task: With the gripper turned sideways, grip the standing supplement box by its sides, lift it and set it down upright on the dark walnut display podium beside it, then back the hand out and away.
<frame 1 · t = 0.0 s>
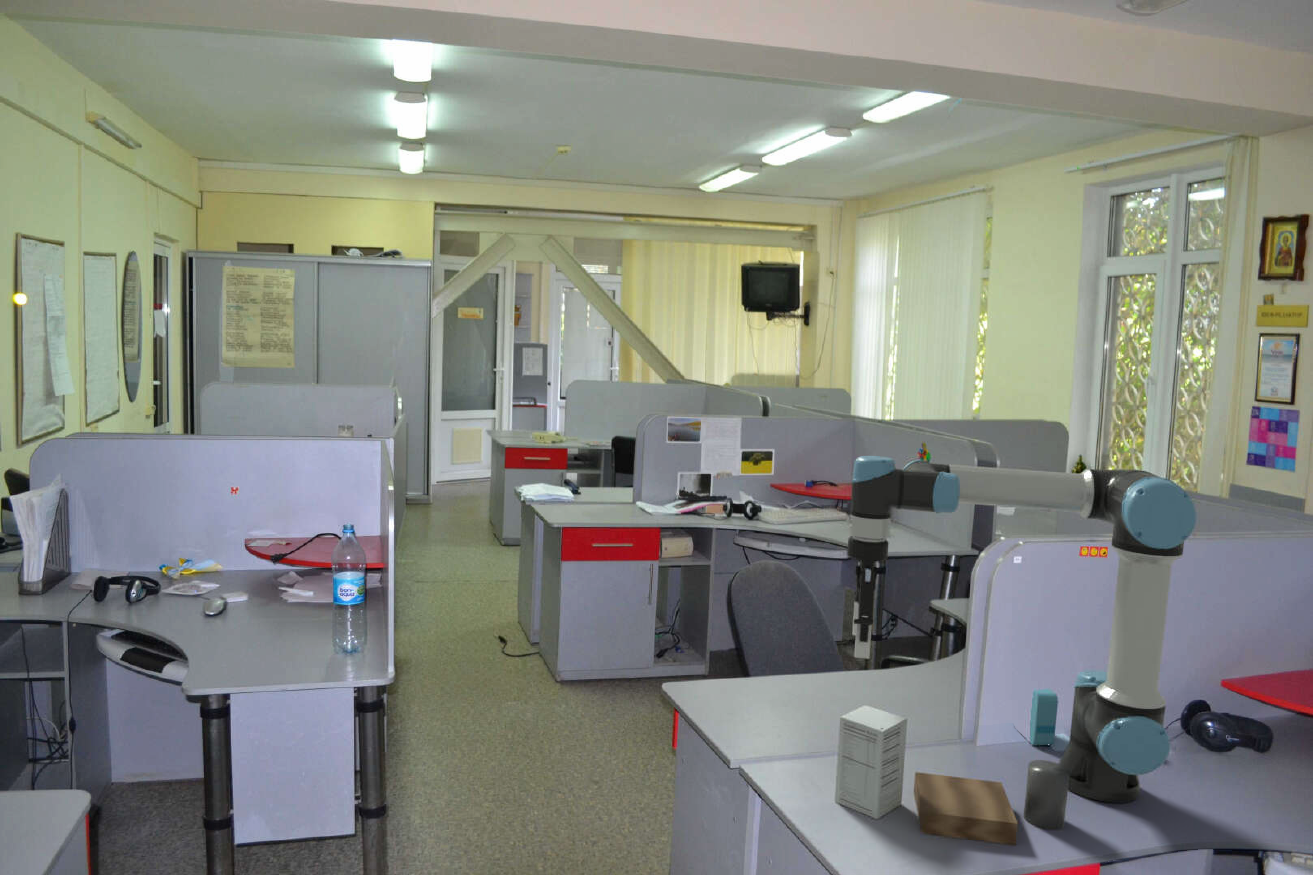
hand: (860, 646, 188), 28 cm above the table, tool pointing down, fingers open, 13 cm apart
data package: (1032, 737, 219), on the table
pale grey branched piece: (1127, 748, 216), on the table
podium: (962, 816, 180), on the table
supplement box: (867, 803, 184), on the table
dark grey cylinder: (1043, 819, 181), on the table
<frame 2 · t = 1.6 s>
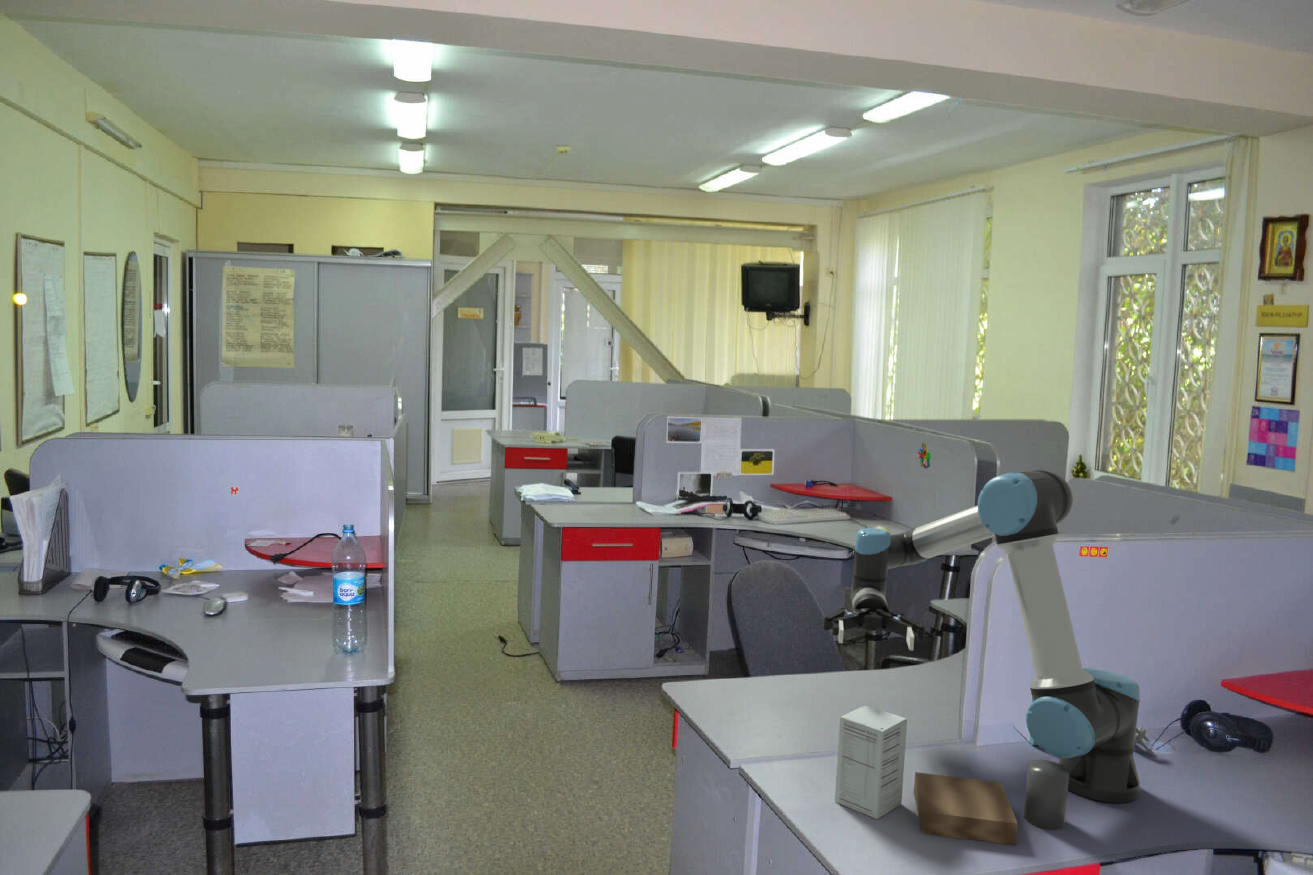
hand: (876, 640, 192), 28 cm above the table, tool horizontal, fingers open, 13 cm apart
nothing on the table moved.
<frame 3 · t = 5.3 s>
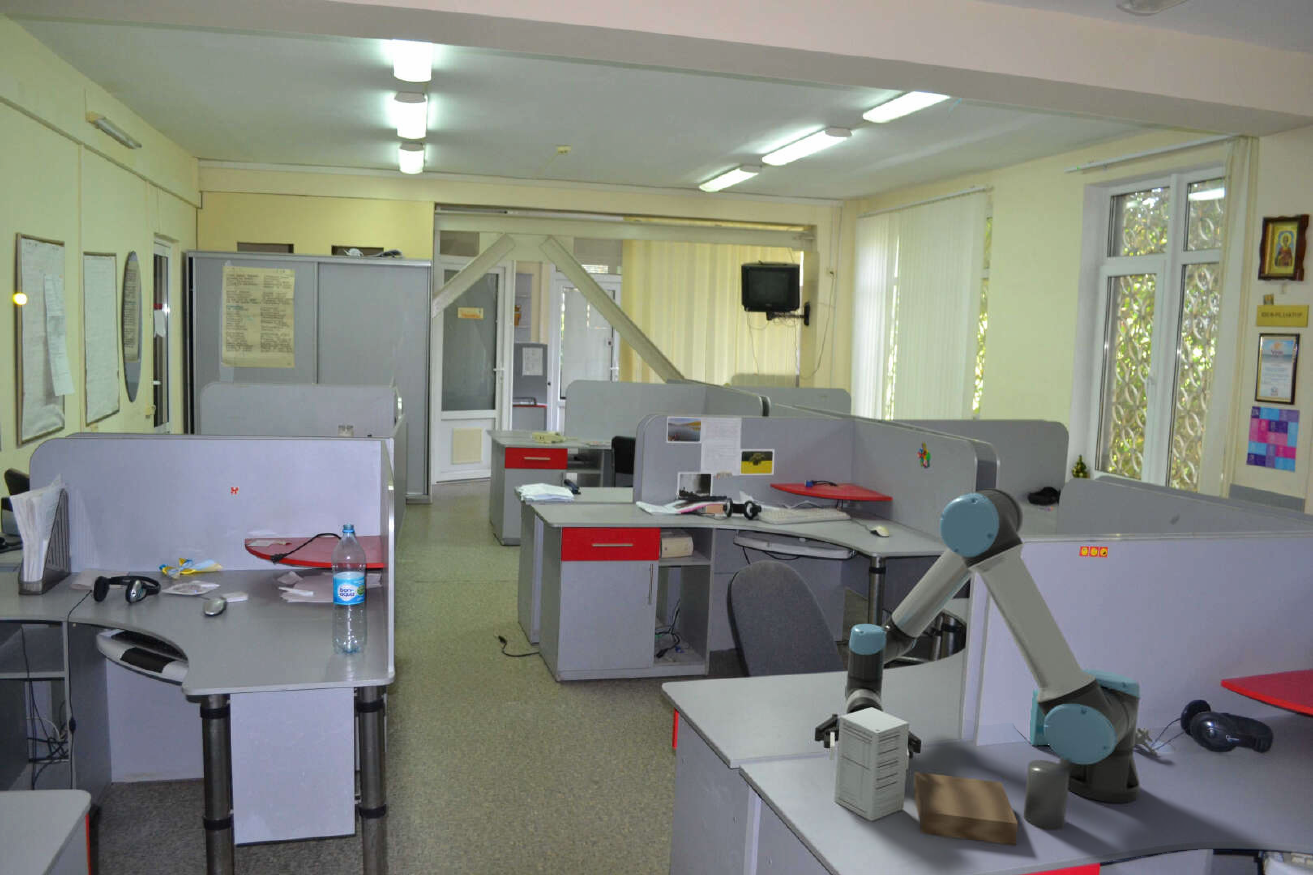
hand: (869, 757, 183), 9 cm above the table, tool horizontal, fingers open, 13 cm apart
supplement box: (868, 806, 183), on the table, touching gripper
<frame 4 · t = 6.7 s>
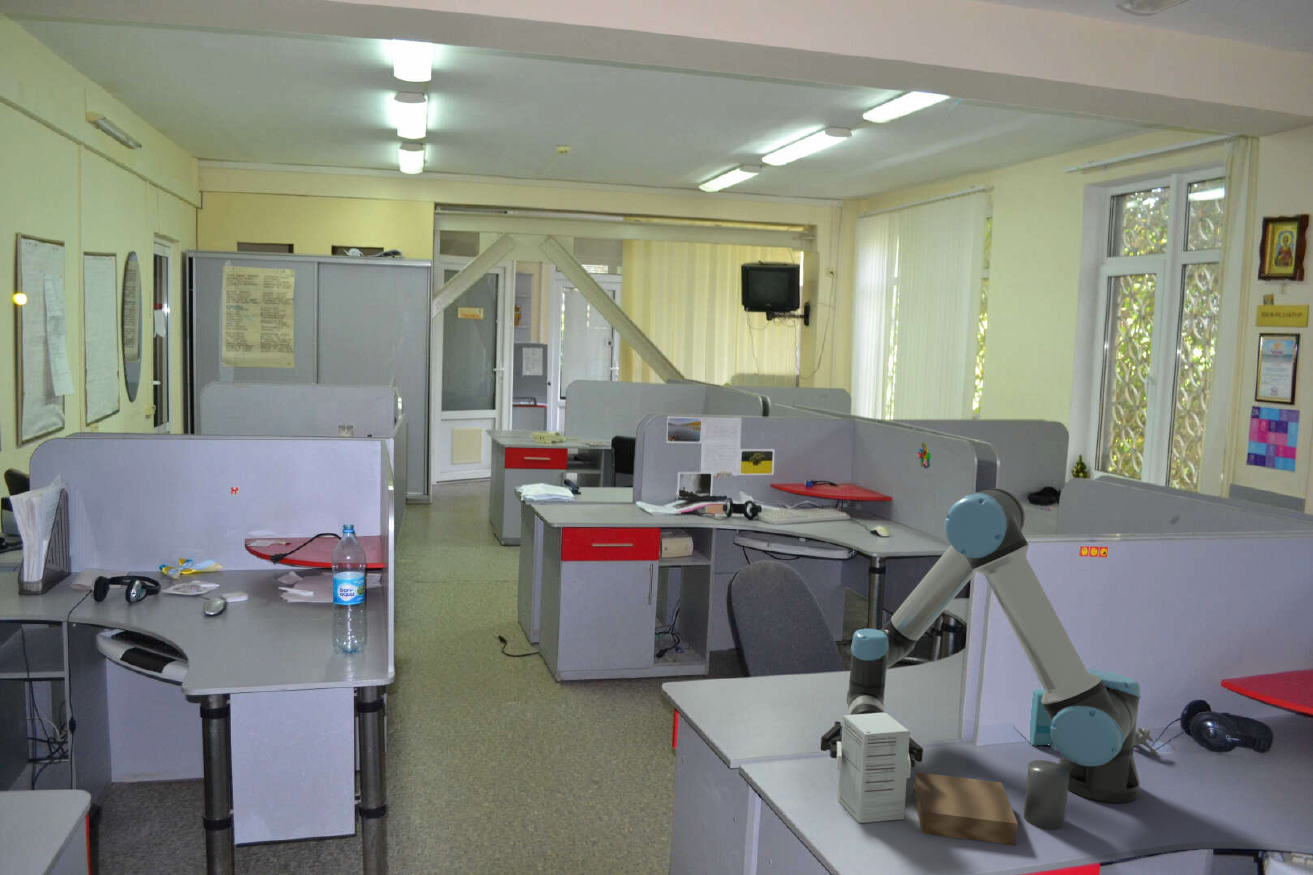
hand: (873, 766, 179), 9 cm above the table, tool horizontal, fingers closed on supplement box, 12 cm apart
supplement box: (869, 810, 181), on the table, touching gripper
everything else where it was.
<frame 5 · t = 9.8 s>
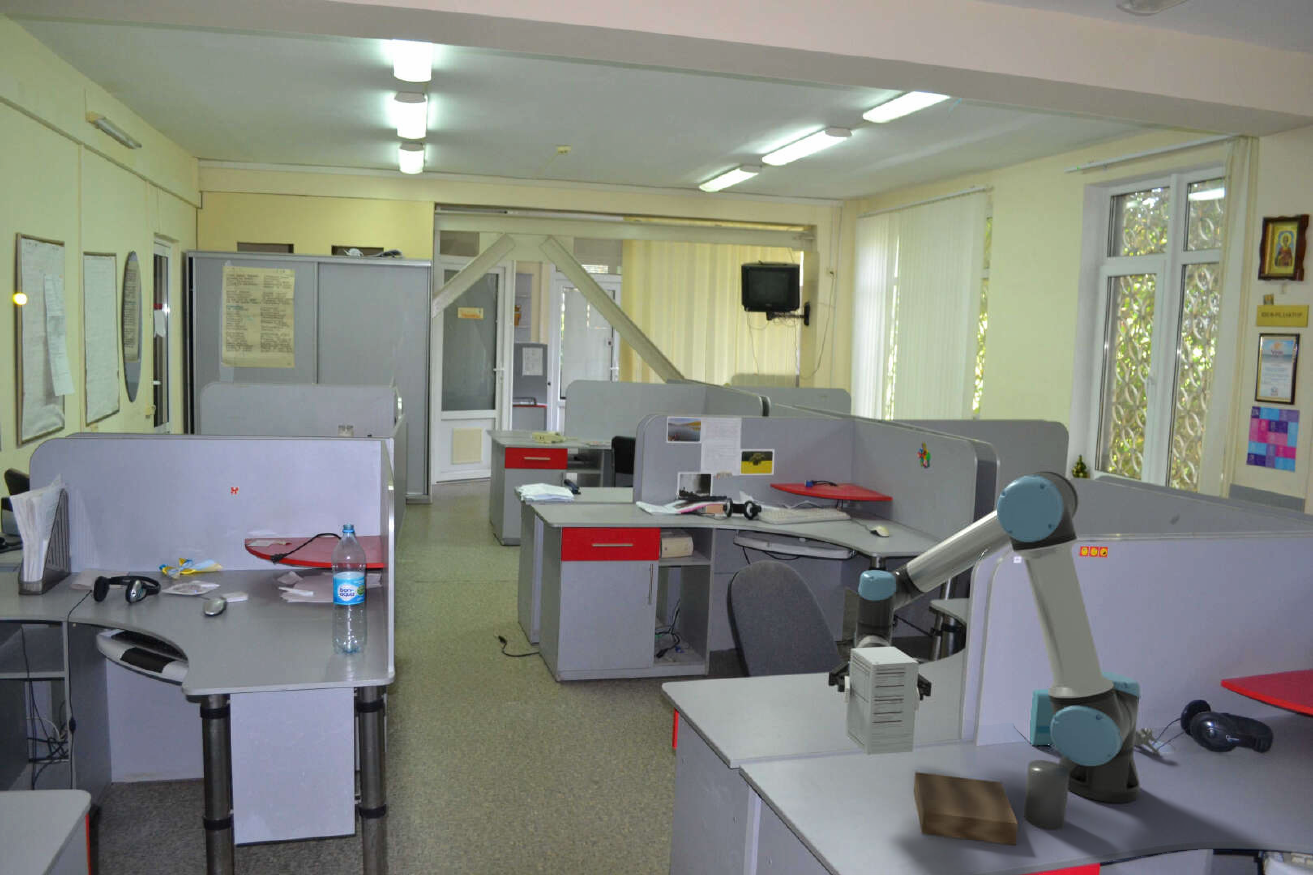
hand: (882, 699, 177), 22 cm above the table, tool horizontal, fingers closed on supplement box, 12 cm apart
supplement box: (878, 744, 180), point 13 cm above the table, touching gripper
when the fingers open (14 cm above the table, at t = 13.5 s): supplement box drops 1 cm, resting on podium.
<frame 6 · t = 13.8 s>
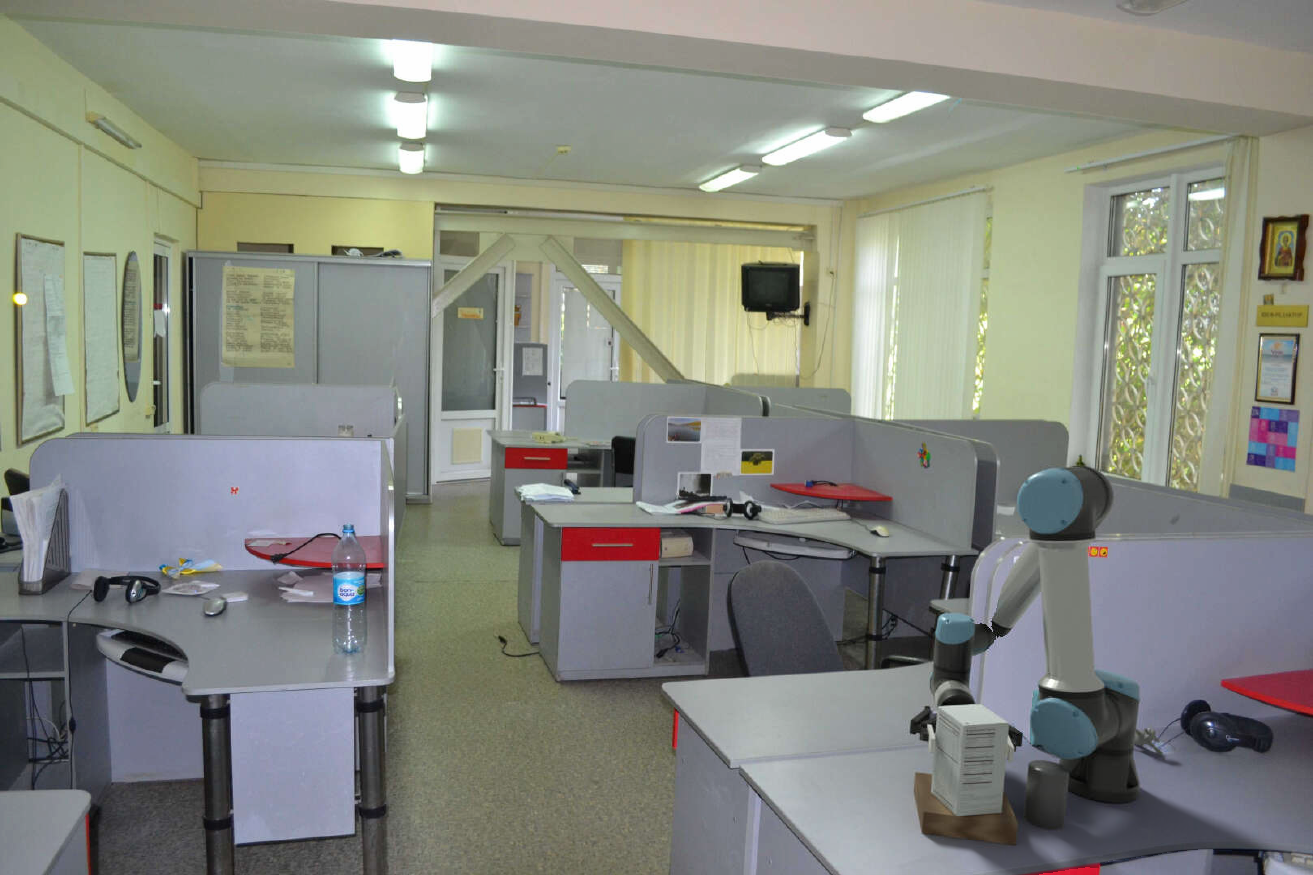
hand: (971, 750, 175), 14 cm above the table, tool horizontal, fingers open, 13 cm apart
supplement box: (965, 803, 177), point 4 cm above the table, touching podium
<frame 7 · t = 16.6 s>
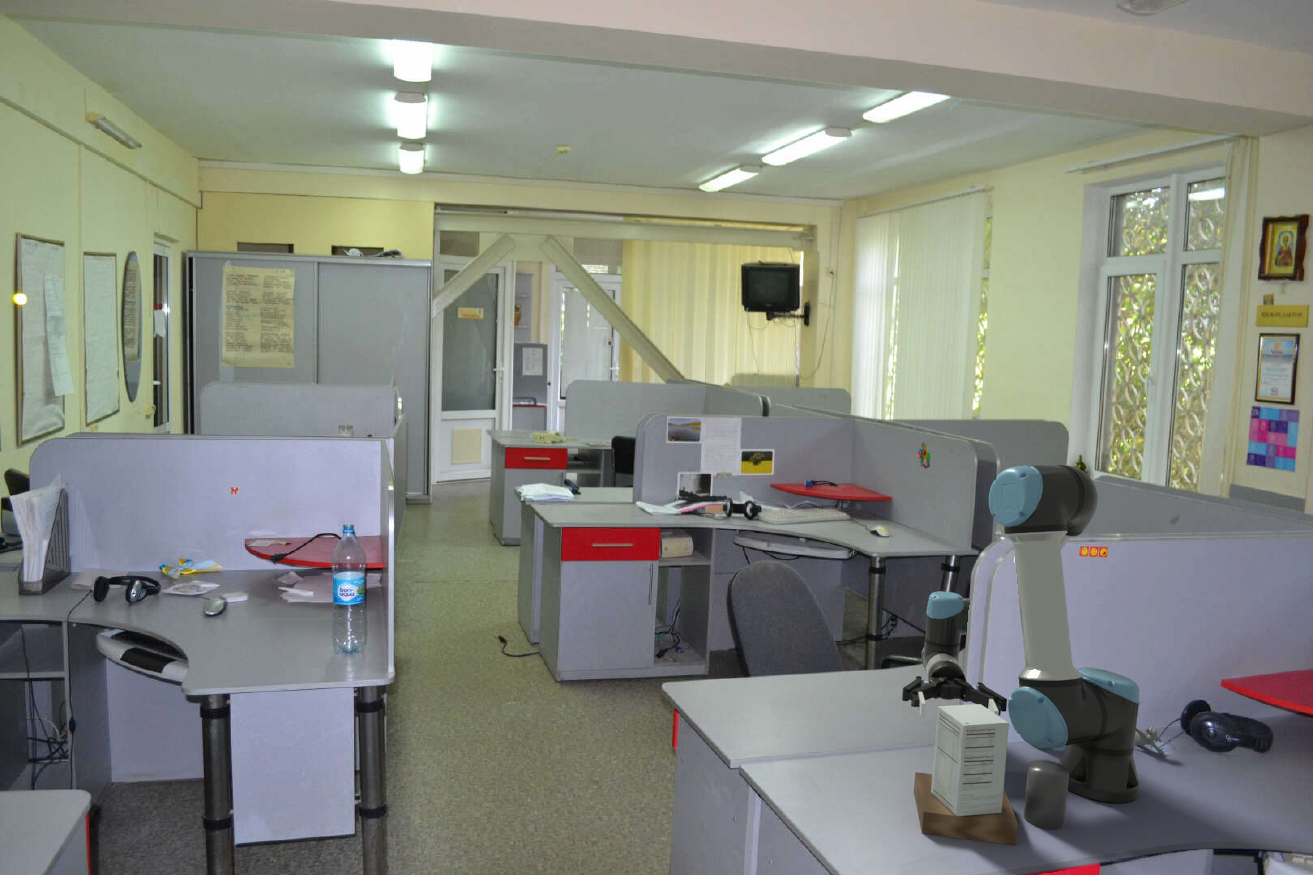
hand: (959, 714, 188), 16 cm above the table, tool horizontal, fingers open, 13 cm apart
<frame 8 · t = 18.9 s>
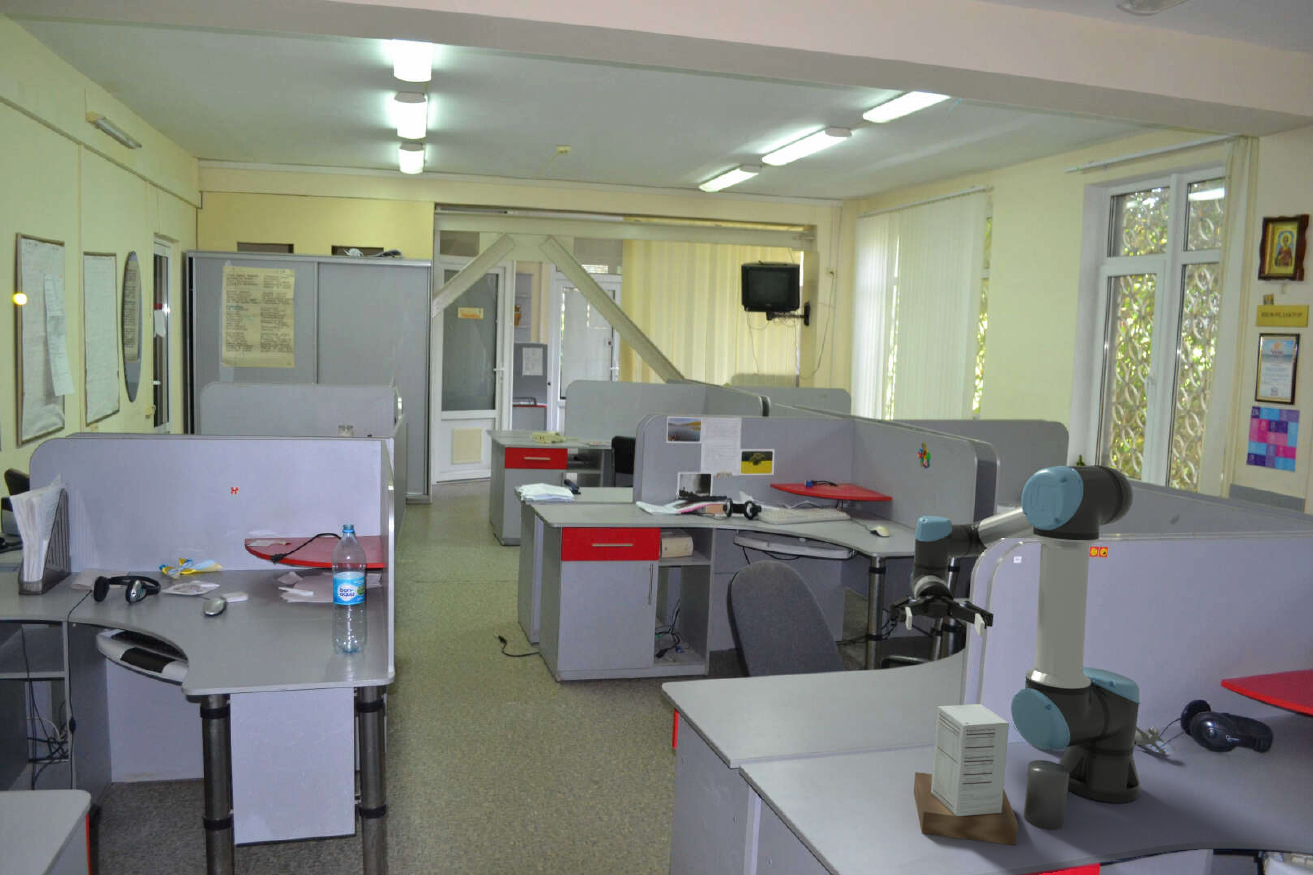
hand: (945, 626, 190), 32 cm above the table, tool horizontal, fingers open, 13 cm apart
at the end: supplement box inside the target area on the podium (2.5 cm from its centre), point 3.8 cm above the podium's base; supplement box tilted 0°; the gripper is holding nothing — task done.
